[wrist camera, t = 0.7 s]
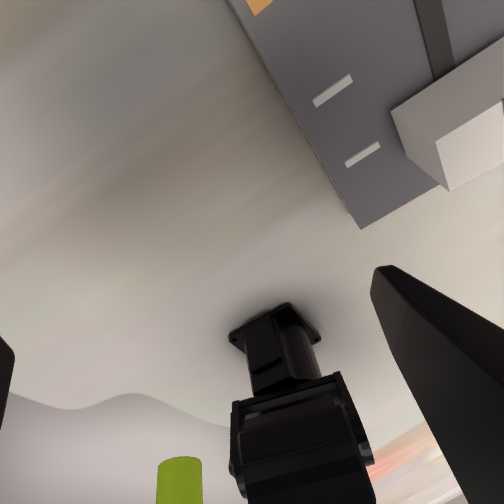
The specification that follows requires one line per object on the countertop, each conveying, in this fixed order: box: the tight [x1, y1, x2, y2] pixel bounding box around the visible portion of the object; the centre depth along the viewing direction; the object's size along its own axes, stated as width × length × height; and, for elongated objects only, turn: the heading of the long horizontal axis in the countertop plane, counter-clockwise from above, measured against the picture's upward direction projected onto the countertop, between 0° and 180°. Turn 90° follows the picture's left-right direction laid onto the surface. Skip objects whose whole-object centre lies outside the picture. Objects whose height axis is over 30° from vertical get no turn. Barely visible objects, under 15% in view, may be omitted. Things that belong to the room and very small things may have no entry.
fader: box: [390, 37, 504, 192], centre depth 16 cm, size 3×6×4 cm, turn 124°
